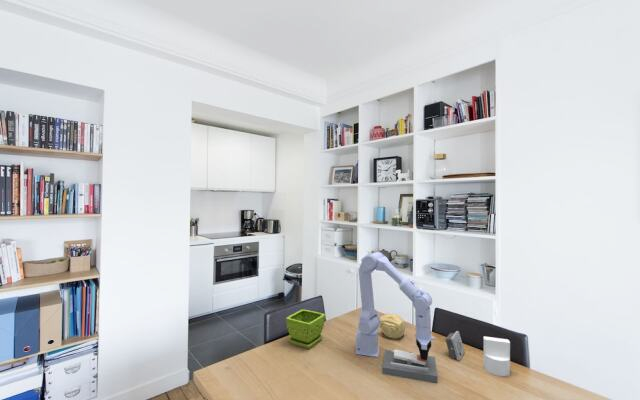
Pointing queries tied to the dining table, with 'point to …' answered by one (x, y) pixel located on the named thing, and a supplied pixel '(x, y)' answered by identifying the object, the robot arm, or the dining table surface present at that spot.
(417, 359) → the rocker paddle
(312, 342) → the flower pot
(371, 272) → the robot arm
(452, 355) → the grey stone block
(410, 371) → the switch panel
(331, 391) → the dining table surface
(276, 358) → the dining table surface
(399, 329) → the sculpture
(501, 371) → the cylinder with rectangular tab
